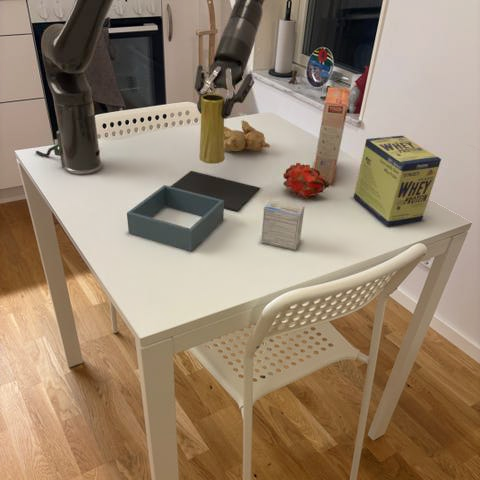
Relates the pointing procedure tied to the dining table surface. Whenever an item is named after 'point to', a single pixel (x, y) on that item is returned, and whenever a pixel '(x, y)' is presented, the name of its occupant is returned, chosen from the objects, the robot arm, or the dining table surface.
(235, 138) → the ginger root
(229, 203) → the mat
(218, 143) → the vase
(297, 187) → the dragon fruit
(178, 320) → the dining table surface
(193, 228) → the tub
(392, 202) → the protein box
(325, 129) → the cracker box
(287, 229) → the medicine box
